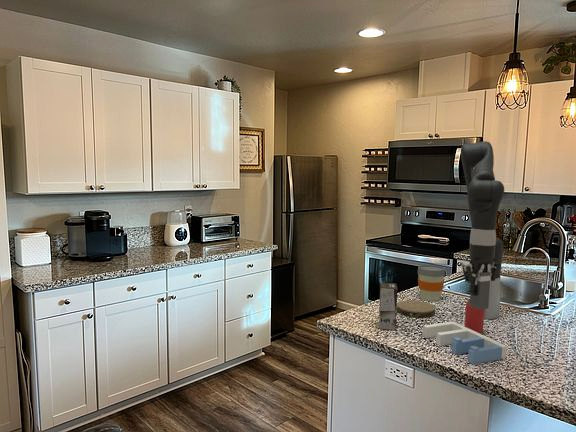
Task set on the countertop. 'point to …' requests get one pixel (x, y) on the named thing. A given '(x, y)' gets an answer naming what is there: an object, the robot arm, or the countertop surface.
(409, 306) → the ringed wooden coaster
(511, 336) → the countertop surface
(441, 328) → the duct comb
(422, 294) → the reusable coffee cup
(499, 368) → the countertop surface
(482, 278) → the grey trapezoid block
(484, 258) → the robot arm
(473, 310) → the beer can
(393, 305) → the coffee box
